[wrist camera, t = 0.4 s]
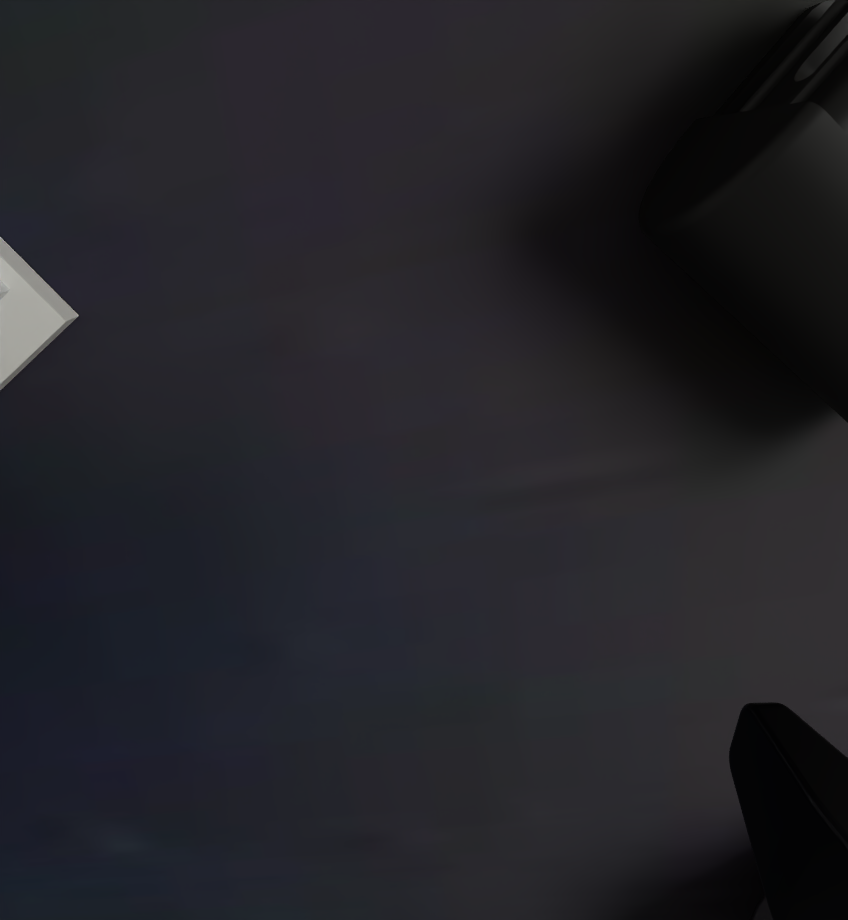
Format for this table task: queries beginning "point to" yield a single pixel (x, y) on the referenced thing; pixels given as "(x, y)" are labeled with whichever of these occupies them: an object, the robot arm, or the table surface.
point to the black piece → (772, 202)
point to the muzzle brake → (762, 910)
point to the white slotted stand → (26, 314)
